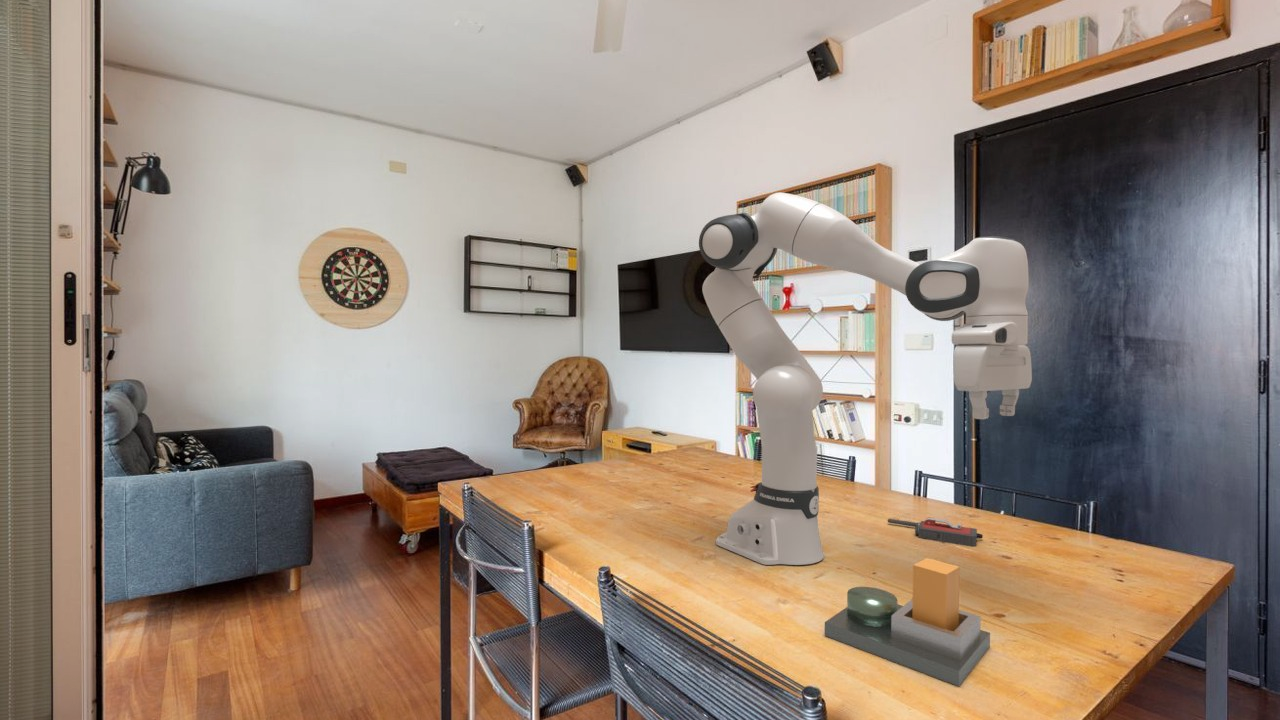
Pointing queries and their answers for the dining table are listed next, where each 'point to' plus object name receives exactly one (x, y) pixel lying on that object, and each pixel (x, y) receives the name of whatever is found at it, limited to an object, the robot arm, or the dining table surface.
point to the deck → (908, 635)
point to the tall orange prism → (936, 593)
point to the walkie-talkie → (942, 531)
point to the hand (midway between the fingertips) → (994, 417)
